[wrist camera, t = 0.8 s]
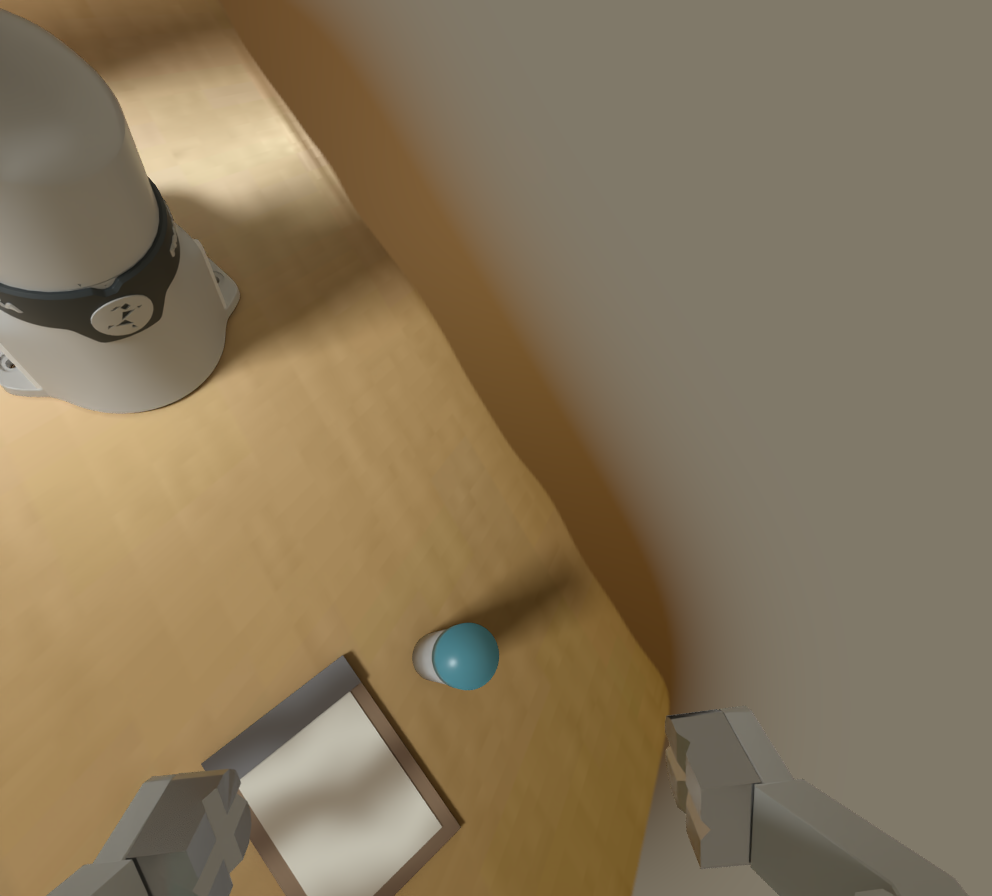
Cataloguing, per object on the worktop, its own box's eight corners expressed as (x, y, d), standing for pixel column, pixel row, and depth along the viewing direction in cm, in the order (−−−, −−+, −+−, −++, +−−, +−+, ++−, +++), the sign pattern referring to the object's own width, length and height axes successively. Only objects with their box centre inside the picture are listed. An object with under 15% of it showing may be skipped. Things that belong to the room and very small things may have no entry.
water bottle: (401, 652, 44) (424, 650, 34) (440, 621, 46) (474, 609, 35) (430, 693, 44) (462, 704, 33) (467, 660, 45) (511, 661, 35)
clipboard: (203, 762, 39) (200, 764, 38) (342, 655, 43) (342, 655, 43) (328, 959, 37) (328, 964, 36) (459, 826, 41) (461, 828, 41)
